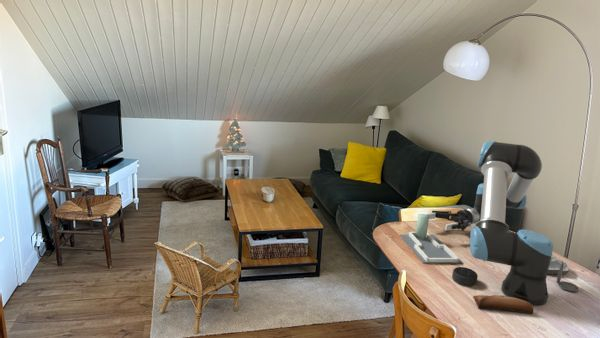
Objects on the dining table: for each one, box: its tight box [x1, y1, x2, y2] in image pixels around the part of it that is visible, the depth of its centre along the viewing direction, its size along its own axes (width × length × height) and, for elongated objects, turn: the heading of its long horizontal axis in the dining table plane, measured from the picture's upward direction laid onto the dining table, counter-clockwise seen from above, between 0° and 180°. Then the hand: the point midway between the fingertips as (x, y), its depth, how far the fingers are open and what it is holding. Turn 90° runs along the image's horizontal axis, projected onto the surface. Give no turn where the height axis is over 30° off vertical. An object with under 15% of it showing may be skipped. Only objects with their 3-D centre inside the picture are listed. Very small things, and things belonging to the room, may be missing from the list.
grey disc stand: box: [555, 260, 579, 293], centre depth 166 cm, size 8×8×10 cm
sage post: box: [415, 213, 430, 240], centre depth 201 cm, size 5×5×11 cm
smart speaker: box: [451, 266, 478, 287], centre depth 166 cm, size 9×9×4 cm
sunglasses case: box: [472, 294, 534, 315], centre depth 151 cm, size 18×7×7 cm
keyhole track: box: [399, 231, 463, 265], centre depth 193 cm, size 28×17×2 cm, turn 8°
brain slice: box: [547, 255, 570, 276], centre depth 184 cm, size 20×17×3 cm
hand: (435, 222), depth 205 cm, fingers open, 13 cm apart
